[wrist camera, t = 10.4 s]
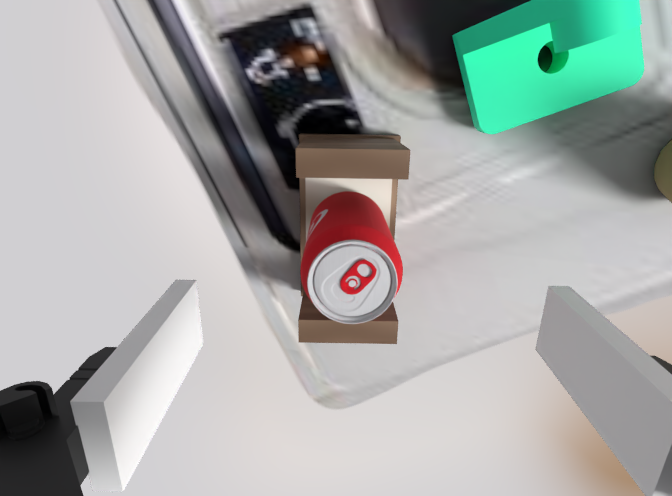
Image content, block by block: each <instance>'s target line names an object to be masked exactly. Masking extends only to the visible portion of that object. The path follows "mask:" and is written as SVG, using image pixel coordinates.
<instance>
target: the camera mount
mask: <svg viewBox="0 0 672 496" xmlns="http://www.w3.org/2000/svg"><path fill="white" fill-rule="evenodd" d="M641 24H642V22H641V13H640V4H639V0H531V1H529V2H526V3H524V4H522V5H519V6H517V7H515V8H513V9H510V10H508V11H506V12H503V13H501V14H499V15H497V16H494V17H492V18H490V19H487V20H485V21H483V22H481V23H478V24H476V25H474V26H472V27H469V28H467V29H465V30H462V31H460V32H458V33H456V34H454V35H452V37H453V41H454V46H455V50H456V54H457V58H458V62H459V66H460V70H461V75H462V79H463V83H464V87H465V91H466V95H467V99H468V104H469V108H470V112H471V116H472V120H473V124H474V126H475V128H476V129H477V130H478V131H480V132H483V133H487V134H496V133H499V132H502V131H505V130H508V129H511V128H514V127H516V126H519V125H522V124H525V123H528V122H531V121H533V120H536V119H539V118H542V117H545V116H548V115H551V114H553V113H556V112H559V111H562V110H565V109H568V108H570V107H573V106H576V105H579V104H582V103H585V102H588V101H590V100H593V99H596V98H599V97H602V96H605V95H608V94H610V93H613V92H616V91H619V90H622V89H625V88H627V87H630V86H633V85H634V84H636V83H637V82H638V81H639V80H640V79H641V77H642V75H643V72H644V60H643V51H642V42H641V33H640V25H641ZM544 45H545V46H547V47H548V48H549V49H550V50H551V52H552V63H551V66H550V67H549V69H548V70H547V71H546V72H543V71H542V70H541V69H540V67H539V65H538V54H539V52H540V50H541V48H542V47H543V46H544Z"/></svg>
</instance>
